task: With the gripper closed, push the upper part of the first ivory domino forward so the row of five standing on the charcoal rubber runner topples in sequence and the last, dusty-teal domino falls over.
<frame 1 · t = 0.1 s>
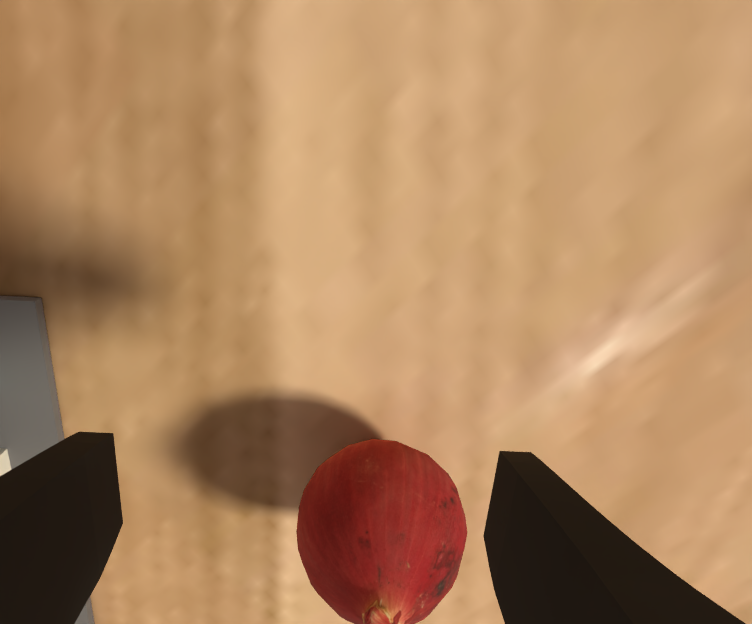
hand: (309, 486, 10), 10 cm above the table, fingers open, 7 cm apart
onion: (376, 457, 22), on the table
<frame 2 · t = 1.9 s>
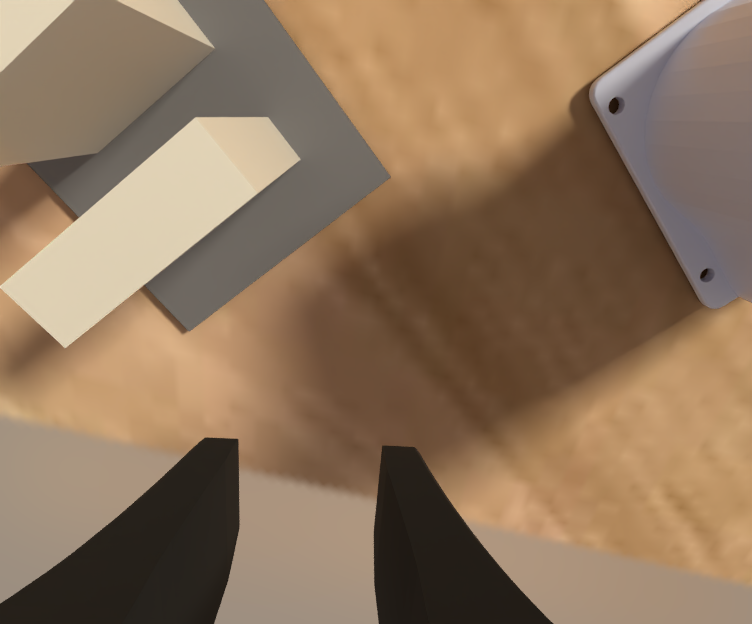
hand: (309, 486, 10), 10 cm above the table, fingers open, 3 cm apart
domino 2: (135, 79, 16), resting on runner mat
domino 1: (225, 186, 17), resting on runner mat
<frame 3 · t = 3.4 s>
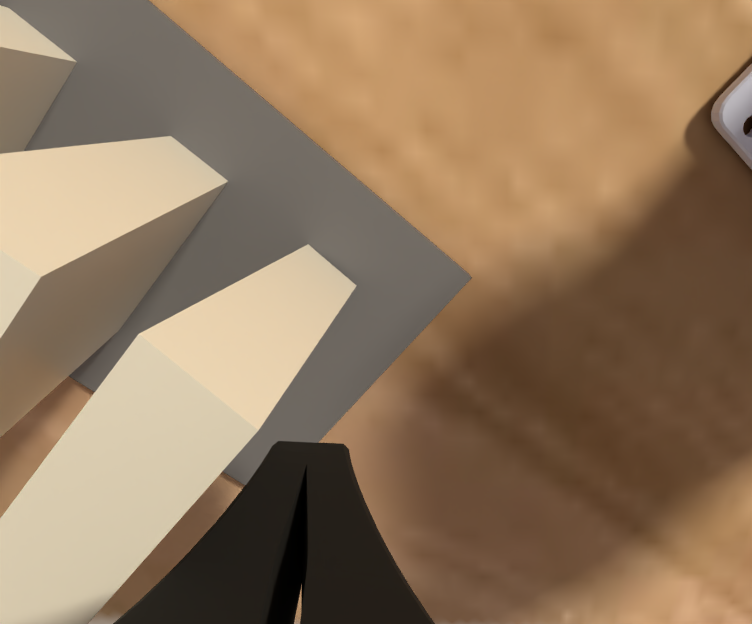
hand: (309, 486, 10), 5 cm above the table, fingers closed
domino 2: (143, 239, 13), resting on runner mat
domino 1: (273, 335, 14), point 1 cm above the table, tilted 10°, touching gripper, runner mat
runner mat: (1, 128, 12), on the table
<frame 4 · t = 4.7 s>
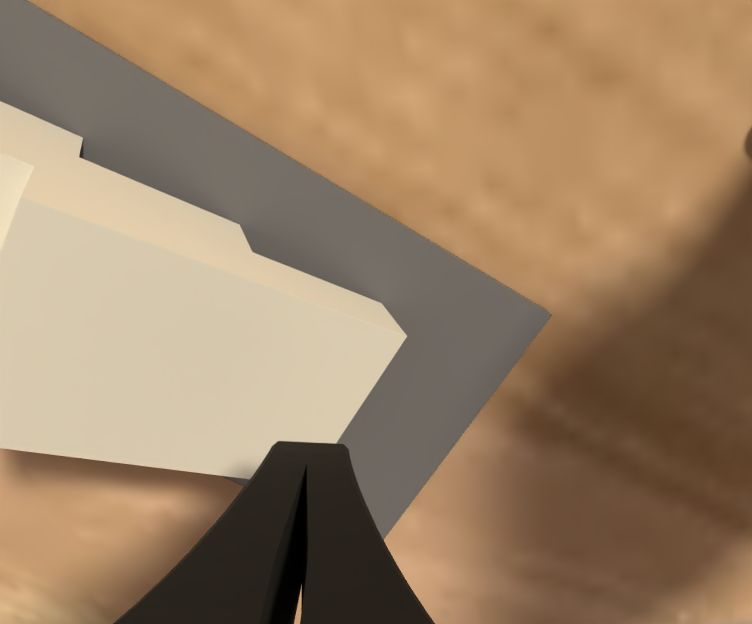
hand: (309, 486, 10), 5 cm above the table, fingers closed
domino 2: (200, 323, 13), point 1 cm above the table, tilted 66°, touching domino 1, domino 3
domino 1: (344, 395, 14), point 1 cm above the table, tilted 67°, touching domino 2, runner mat
runner mat: (100, 250, 13), on the table
domino 3: (42, 243, 12), point 1 cm above the table, tilted 66°, touching domino 2, domino 4, runner mat
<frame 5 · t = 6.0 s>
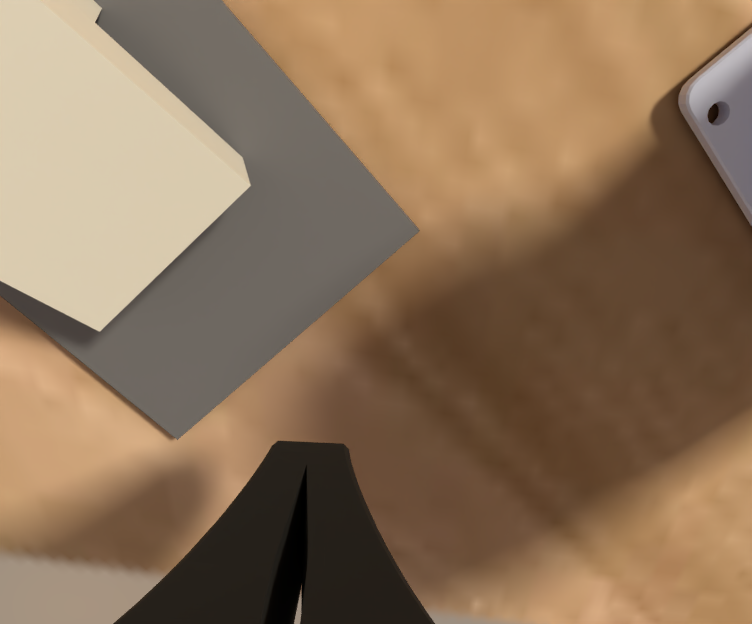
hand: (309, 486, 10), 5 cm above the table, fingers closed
domino 2: (22, 102, 11), point 1 cm above the table, tilted 66°, touching domino 1, domino 3
domino 1: (171, 243, 12), point 1 cm above the table, tilted 67°, touching domino 2, runner mat
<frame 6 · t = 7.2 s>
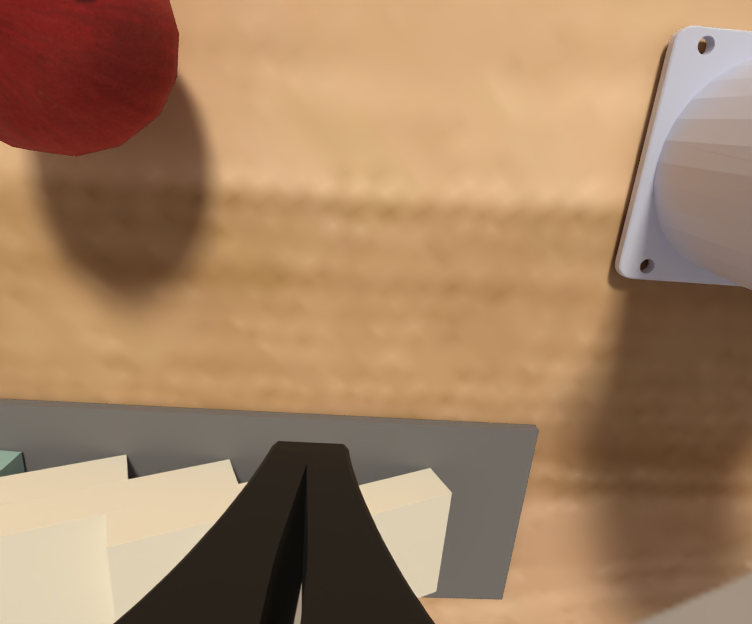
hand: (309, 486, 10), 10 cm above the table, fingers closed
onion: (117, 47, 16), on the table
domino 5: (17, 518, 20), point 1 cm above the table, tilted 94°, touching domino 4, runner mat
domino 2: (333, 526, 21), point 1 cm above the table, tilted 66°, touching domino 1, domino 3
domino 1: (433, 530, 22), point 1 cm above the table, tilted 67°, touching domino 2, runner mat
runner mat: (260, 504, 22), on the table
domino 4: (132, 519, 21), point 1 cm above the table, tilted 67°, touching domino 3, domino 5, runner mat
domino 3: (234, 523, 21), point 1 cm above the table, tilted 66°, touching domino 2, domino 4, runner mat
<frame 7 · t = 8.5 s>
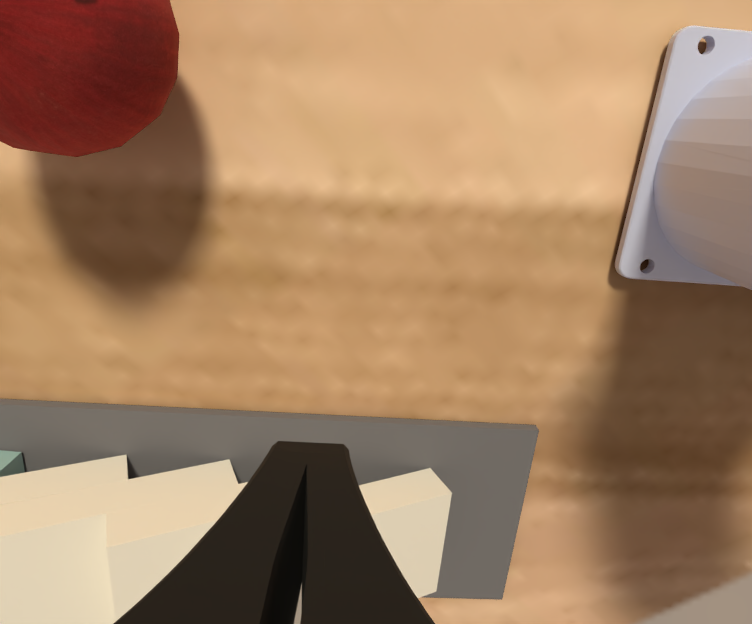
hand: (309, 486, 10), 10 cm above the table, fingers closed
onion: (117, 47, 16), on the table
domino 5: (17, 518, 20), point 1 cm above the table, tilted 94°, touching domino 4, runner mat
domino 2: (333, 526, 21), point 1 cm above the table, tilted 66°, touching domino 1, domino 3
domino 1: (433, 530, 22), point 1 cm above the table, tilted 67°, touching domino 2, runner mat
runner mat: (260, 504, 22), on the table
domino 4: (132, 519, 21), point 1 cm above the table, tilted 67°, touching domino 3, domino 5, runner mat
domino 3: (234, 523, 21), point 1 cm above the table, tilted 66°, touching domino 2, domino 4, runner mat
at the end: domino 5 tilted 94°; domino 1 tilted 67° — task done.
